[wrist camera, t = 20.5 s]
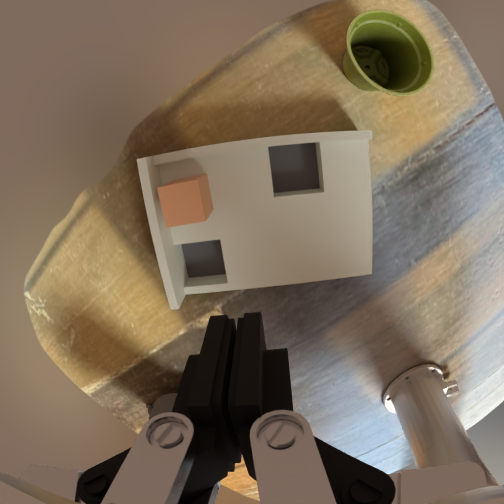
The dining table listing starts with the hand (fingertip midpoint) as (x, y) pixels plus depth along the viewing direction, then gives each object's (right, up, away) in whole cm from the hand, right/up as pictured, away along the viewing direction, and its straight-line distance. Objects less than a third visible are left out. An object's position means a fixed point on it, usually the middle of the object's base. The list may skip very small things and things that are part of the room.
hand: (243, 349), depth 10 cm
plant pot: (+14, +25, +19) cm, 35 cm away
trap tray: (+2, +8, +26) cm, 27 cm away
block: (-6, +9, +22) cm, 25 cm away
